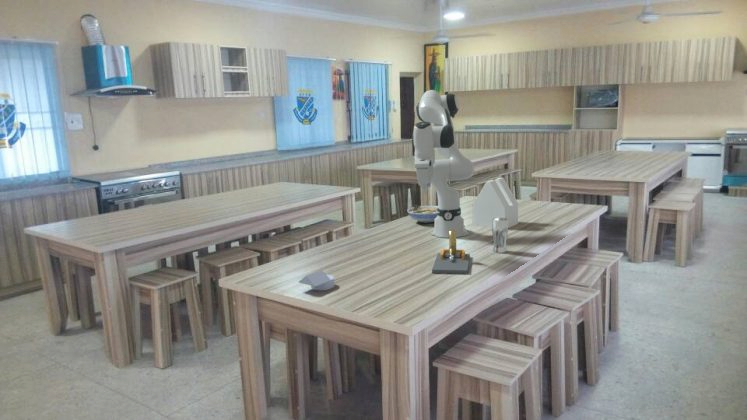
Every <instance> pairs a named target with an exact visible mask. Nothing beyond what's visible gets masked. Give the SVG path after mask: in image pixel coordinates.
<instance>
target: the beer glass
mask: <svg viewBox="0 0 747 420" xmlns="http://www.w3.org/2000/svg"><path fill="white" fill-rule="evenodd" d="M491 231H492V237H493V238H492V239H493V250H492V252H493V253H495V254H505V253H507V252H508V249H507V238H508V232H509V228H508V221H507V218H493V220H492V228H491Z"/></svg>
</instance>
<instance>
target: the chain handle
mask: <svg viewBox="0 0 747 420" xmlns="http://www.w3.org/2000/svg"><path fill="white" fill-rule="evenodd" d="M448 243H449V244H448V245H449V246H448V247H449V248H448V249H449V252H446V257H450V261H453V259H454V257H460V252H456V250H457V237H456V231H455V230H450V231H449V238H448Z"/></svg>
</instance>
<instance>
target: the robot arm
mask: <svg viewBox="0 0 747 420" xmlns="http://www.w3.org/2000/svg"><path fill="white" fill-rule="evenodd" d="M459 107H460V102H459V99H458V98H457V96H456V94H454V93H446V94H442V95H441V94H440V93H439V91H437V90H435V89H429V90H427V91H424V93H423V95H422V96H421V98H420V101H419V102H418V103H417V105H416V107H415V111H416V113H415V114H416V117H417V118H418V120H419V122H417V123H415V124H414V126H413V133H412V135H411V137H412V138H411V139H412V145H413V146H414V169H416V170H415V171H416V172H415V173H416V179H417V184H418V186H421V188H422V194H427V193H428V188H430V187H431V186H433V187H434V190H435V192H436V197H437V206H438V208H437V215H438V216H437V217H436V218H435V221H434V230H433V231H431V233H430V235H432V236H436V237H437V238H438V237H439V238H446V239H449V231H450V230H455V231H456V238H459V237H463V236H468V235H469V232H468V231H467V229H466V228H465V220H464V217H463V216H462V215H461V214H462V208H461V198H460V196H461V195H460V192H459V190H457V189H456V188H454V187H452V186H449V184H448V182H451V181H452V182H455V181H464V180H468V179H471V178H472V177H473V175H474V172H475V166H474V163H473V162H472V160H470V159H469V158H467V157H466V156H464V154H462V153H461V151H460V150H459V148H458V144H457V139H456V131H455V126H454V123H453V120H452V119H455V115H457V113H458V112H459ZM432 124H433V125H432ZM435 152H436V153H437V154H438V155H439V156H441V157H444V159H442V158H441V159H436V153H435Z"/></svg>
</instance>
